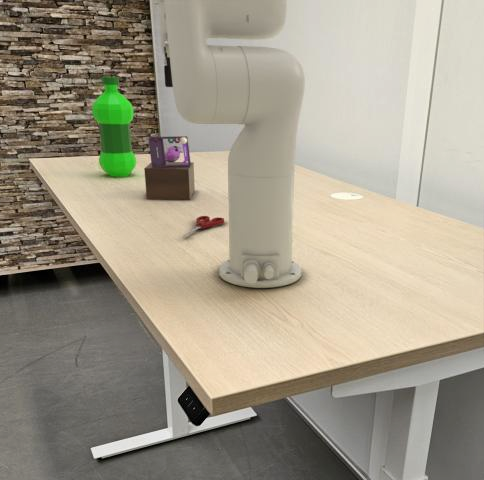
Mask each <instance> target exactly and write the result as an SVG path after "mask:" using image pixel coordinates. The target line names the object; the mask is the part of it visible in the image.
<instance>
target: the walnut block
mask: <svg viewBox="0 0 484 480" xmlns="http://www.w3.org/2000/svg"><path fill="white" fill-rule="evenodd" d="M190 163H191V165H190V166H176V167H152V164H151V162H150V163H149V164H148V165H146V167H144V168H143V170H144V182H145V195H146V200H176V201H177V200H179V201H180V200H182V201H190V200H191V199H192V196H193V195H194V194H195V189H196V188H195V163H194V162H193V161H190ZM186 164H188V161H186ZM166 165H183V161H175V162H166ZM184 165H185V164H184Z"/></svg>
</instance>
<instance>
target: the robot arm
mask: <svg viewBox="0 0 484 480" xmlns="http://www.w3.org/2000/svg"><path fill="white" fill-rule="evenodd" d="M153 5H158V16H159V34H160V37H159V38H160V47H161V54H162V55H164V59H163V63H164V66H163V70H164V71H163V72H164V87H166V88H172V91H173V92H172V93H173V98H174V102H175V106H176V109H177V112H178V114H179V115H180V116H181V118H182V119H183V120H184V121H186V122H187V123H191V124H195V125H242V126H243V125H244V126H243V128H242V130H241V131H240V133H239V134H238V135H237V137H236V138H235V140H234V142H233V144H232V146H231V148H230V149H229V153H228V157H227V187H228V188H227V193H228V194H227V195H228V196H227V200H228V203H227V204H228V246H229V247H228V255H229V258H228V259H227V260H225V261H223V262H222V263H221V264H220V265H219V267H218V272H219V277H220V278H221V279H222V280H223V281H225V282H227V283H229V284H232V285H235V286H239V287H244V288H253V289H254V288H255V289H268V288H269V289H270V288H279V287H284V286H288V285H290V284H293V283H295V282H297V281H298V280H299V279H300V278H301V277H302V267H301V265H300V264H299V263H298V262H296V261H294V260H293V230H294V197H295V171H296V169H295V168H296V149H297V148H296V147H297V146H296V145H297V137H298V136H297V134H298V127H299V122H300V115H301V111H302V110H301V109H302V105H303V100H304V94H305V88H306V87H305V84H306V83H305V82H306V80H305V71H304V69H303V66H302V64H301V63H300V61H299V59H298V58H297V57H296V56H295V55H293V54H292V53H290V52H288V51H287V50H284V49H280V48H275V47H268V46H252V45H251V46H249V45H237V46H236V45H214V44H211V45H210V44H207V39H223V40H224V39H225V40H227V39H228V40H247V41H248V40H249V41H250V40H254V41H255V40H269V39H272V38H274V37H276V36H278V35H280V33H281V32H282V30H284V27H285V23H286V21H287V0H153Z"/></svg>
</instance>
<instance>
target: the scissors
mask: <svg viewBox="0 0 484 480" xmlns="http://www.w3.org/2000/svg"><path fill="white" fill-rule="evenodd" d="M195 222H196V223H195V227H194V228H192V229H191V230H189V231H187V232H186V233H185V234H184V235H183V237H186V236H188V235H190V234H192V233H193V232H195V231H197V230H204V229H207V228H211V227H215V226H219V225H222V224H224V223H225V218H224V217H213V218H212V219H211V217H210V216H209V215H200V216H197V217H196V221H195Z"/></svg>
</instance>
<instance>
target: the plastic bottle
mask: <svg viewBox="0 0 484 480" xmlns="http://www.w3.org/2000/svg"><path fill="white" fill-rule="evenodd" d="M101 85H103V86H104V91H103V92H102V93H101V94H100V95H99V96H98V97H97V98H96V99H95V101H93V104H92V106H91V111H92V117H93V120H95V122H96V123H98V129H99V130H98V131H99V139H100V147H101V152H100V154H99V156H98V164H99V166H100V169H101V170H103V171H104V173H106V174H108V176H110V177H112V178H113V177H114V178H122V177H123V178H124V177H129V176H130V174H131V172H133V171H134V170H135V168H136V165H137V157H136V155H135V154H134V152H133V147H132V137H131V136H132V135H131V126H130V125H131V122H132V121H133V119H134V116H135V115H134V114H135V113H134V107H133V105H132V103H131V101H129V99H127V98H126V96H124V95H123V94H122V93H121V92H119V90H118V86H119V85H120V78H119V77H118V76H101Z"/></svg>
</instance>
